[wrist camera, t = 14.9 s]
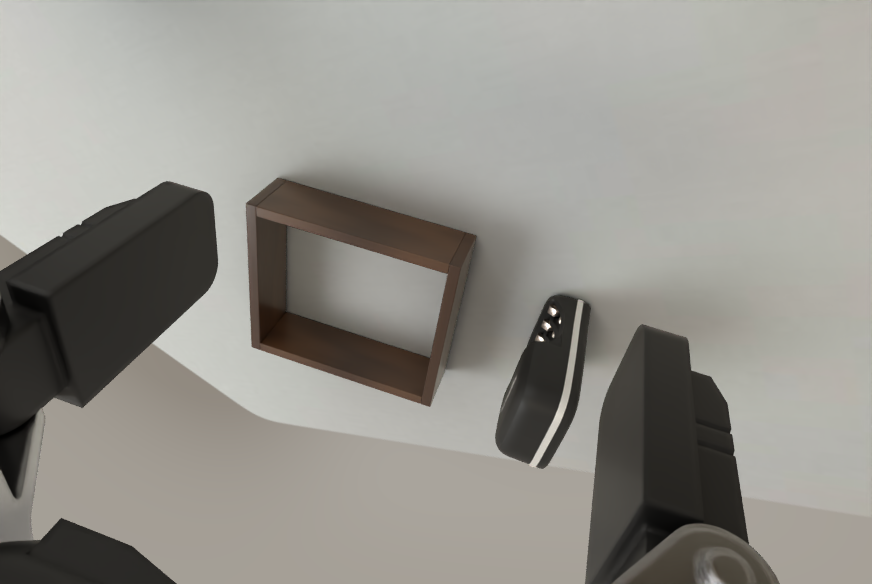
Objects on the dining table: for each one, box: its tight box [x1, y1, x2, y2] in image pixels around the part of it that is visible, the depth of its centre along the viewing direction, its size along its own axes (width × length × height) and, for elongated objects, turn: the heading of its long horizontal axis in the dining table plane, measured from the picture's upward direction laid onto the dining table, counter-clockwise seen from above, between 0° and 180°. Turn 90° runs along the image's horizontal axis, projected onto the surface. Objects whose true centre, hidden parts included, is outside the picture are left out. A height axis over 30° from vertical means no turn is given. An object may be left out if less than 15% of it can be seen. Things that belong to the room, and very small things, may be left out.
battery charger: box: [495, 296, 591, 469], centre depth 40 cm, size 7×4×11 cm, turn 165°
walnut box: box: [246, 178, 476, 407], centre depth 46 cm, size 16×14×4 cm
